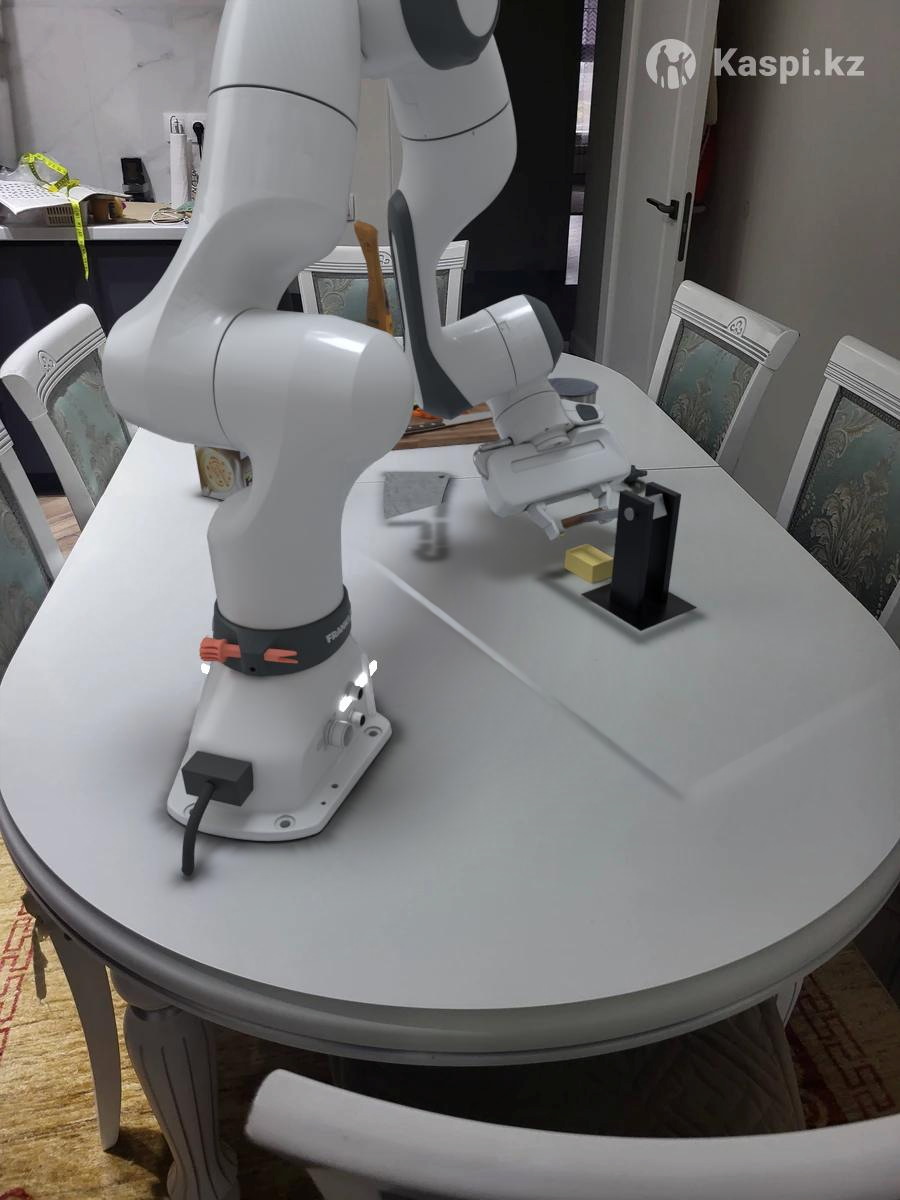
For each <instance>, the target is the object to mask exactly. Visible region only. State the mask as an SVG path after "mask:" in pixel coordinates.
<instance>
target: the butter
mask: <svg viewBox="0 0 900 1200" xmlns="http://www.w3.org/2000/svg"><path fill="white" fill-rule="evenodd" d="M613 559H614V557H613V556H611V555H609V554H607V553H605V552H603V551H601V550H599V549H598V548H597V547H595V546H592V545H591V544H589V543H585V544H581V545H579V546H576V547H573V548H569V549H566V550H565V558H564V569H565V570H567V571H569V572H571V573H573V574H574V575H576V576H577V577H579V578H580V579H582V580H584V581H586V582H587V583H589V584H591V585H592V584H595V583H598V582H601V581H604V580H607V579H608V578H612V569H613Z"/></svg>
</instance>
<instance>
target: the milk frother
mask: <svg viewBox="0 0 900 1200" xmlns="http://www.w3.org/2000/svg"><path fill="white" fill-rule="evenodd" d="M548 381H549V383H550V384H551V385H552V387H553V388H554V389H555V390H556V391H557V393H558V394H559V396H560V398H561V399H565V400H569V401H574V402H579V403H587V404H595V405H596V403H597V392H598V390H599V388H600V385H598V384H597V383H596V382H595V381H592V380H588V379H584V378H579V377H551V378H548ZM646 476H648V470H647V469H646V470H645V469H637V468H636V466H635V464H631V472H630V474H629V476H627V477H626V478H625V479H624V480H623V481H624V482H625V483H634V482H636V481H637V480H638V479H639V478H643V477H646Z"/></svg>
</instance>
